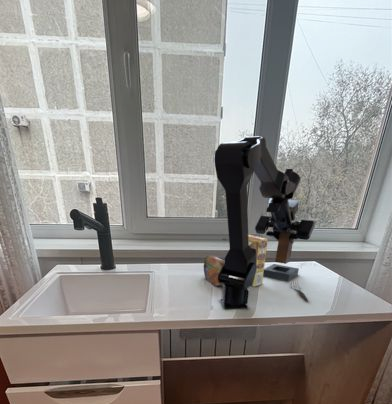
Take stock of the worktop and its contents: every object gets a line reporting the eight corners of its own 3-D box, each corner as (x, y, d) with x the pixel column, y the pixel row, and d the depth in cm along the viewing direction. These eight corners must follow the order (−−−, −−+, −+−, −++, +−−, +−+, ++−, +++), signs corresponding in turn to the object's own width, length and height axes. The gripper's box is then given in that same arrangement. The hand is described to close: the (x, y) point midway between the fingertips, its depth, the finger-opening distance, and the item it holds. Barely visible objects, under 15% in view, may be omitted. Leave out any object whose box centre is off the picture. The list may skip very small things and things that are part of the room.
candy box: (262, 284, 98) (268, 238, 90) (253, 287, 96) (259, 239, 88) (245, 277, 104) (249, 234, 97) (236, 279, 102) (240, 235, 95)
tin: (202, 275, 105) (203, 252, 101) (210, 275, 106) (211, 252, 102) (219, 289, 93) (221, 264, 89) (228, 288, 94) (230, 263, 90)
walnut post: (285, 263, 103) (292, 225, 96) (275, 262, 105) (280, 224, 98) (289, 261, 105) (296, 224, 99) (279, 259, 107) (285, 223, 101)
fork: (302, 302, 85) (304, 296, 84) (289, 284, 99) (290, 279, 98) (311, 303, 85) (313, 296, 84) (296, 284, 99) (297, 279, 98)
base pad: (288, 281, 101) (289, 274, 100) (262, 276, 106) (263, 269, 105) (297, 274, 109) (298, 268, 107) (272, 270, 114) (273, 263, 112)
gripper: (320, 192, 86) (321, 226, 99) (262, 189, 96) (271, 221, 109) (306, 222, 84) (310, 253, 97) (249, 216, 94) (259, 245, 107)
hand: (286, 242), depth 103 cm, fingers closed on walnut post, 4 cm apart
